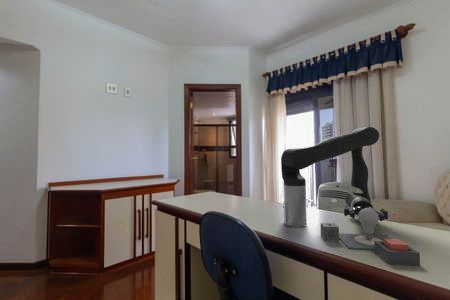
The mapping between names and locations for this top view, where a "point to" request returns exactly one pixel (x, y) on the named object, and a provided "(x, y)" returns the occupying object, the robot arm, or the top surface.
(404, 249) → the button
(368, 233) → the lightbulb
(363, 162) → the robot arm
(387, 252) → the button box
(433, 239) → the top surface
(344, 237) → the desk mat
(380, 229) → the top surface
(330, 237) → the dice cube
